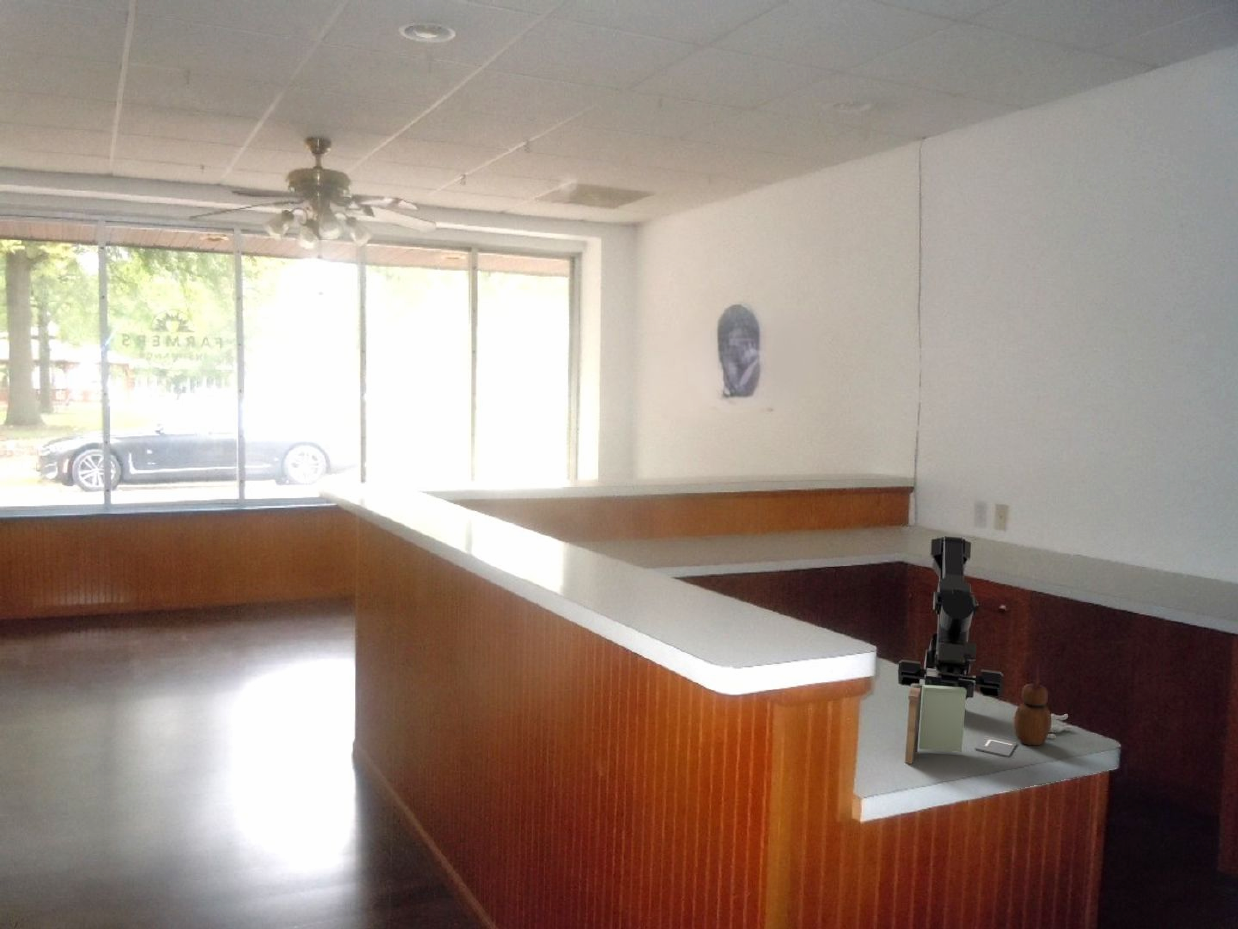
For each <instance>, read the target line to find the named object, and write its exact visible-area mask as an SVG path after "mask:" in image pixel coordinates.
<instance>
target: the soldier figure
mask: <svg viewBox="0 0 1238 929" xmlns="http://www.w3.org/2000/svg"><path fill="white" fill-rule="evenodd" d="M1050 714H1051V722H1052V721H1056V720H1059V721H1064V720H1067V719H1068V717H1069V715H1068V713H1065V714H1063V715H1058V714H1057V715H1056V714H1055V713H1050ZM1014 718H1015V716H1013V719H1014ZM1070 726H1071V725H1068V726H1060V725H1058V724H1051V728H1050V731H1049V733H1048V736H1047V738H1046V739H1050V740H1051V739H1052V740H1053V739H1056V737H1057V736H1056V734H1053V732H1059V733H1060V732H1062V731H1066V732H1068V731H1073V728H1074V727H1073V726H1072V727H1070Z"/></svg>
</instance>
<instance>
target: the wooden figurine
mask: <svg viewBox="0 0 1238 929" xmlns="http://www.w3.org/2000/svg"><path fill="white" fill-rule="evenodd" d="M1039 664H1040V663H1037V665H1036V666H1037V667H1036V670H1035V671H1036V672H1035V676H1034V682H1033V683H1027V684H1025V685H1024V686H1023V688H1022V691H1021V700H1022V702H1023V703H1020V705H1019V706H1018V707H1017V709H1016V711H1015V715H1014V717H1015V718H1014V717H1013V720H1014V722H1013V724H1014V730H1015V731H1014V732H1015V734H1016V738H1017V739H1018V740H1019V741H1020V742H1021V743H1023V744H1024V745H1029V746H1039V745H1042V744H1043V743H1045V741H1046V739H1048V738H1047V736H1048V734H1050V732H1049V731H1050V728H1051V725H1052V721H1051V714H1052V713H1051V711H1050V709H1049V708H1048V707H1047V706H1046V704H1047V703H1048V699H1049V692H1048V689H1047V688H1046V687H1045V686H1043V685H1041V684H1040V683H1039V681H1040V677H1039V676H1040V665H1039Z"/></svg>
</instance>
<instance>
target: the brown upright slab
mask: <svg viewBox="0 0 1238 929" xmlns="http://www.w3.org/2000/svg"><path fill="white" fill-rule="evenodd" d="M922 688H923V684H921V683H920V684H916V683H913V684H911V686H910V691H909V693H908V700H909V702H908V703H909V704H908V716H907V717H908V718H907V731H906V744H905V758H904V759H905V760H904V763H905V764H911V765H912V764H913V762H914V758H915V754H917V753H918V749H919V747H918V746H919V733H920V719H921V705H922V692H923V689H922Z"/></svg>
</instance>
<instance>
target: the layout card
mask: <svg viewBox="0 0 1238 929" xmlns="http://www.w3.org/2000/svg"><path fill="white" fill-rule="evenodd" d="M1016 744H1018V742H1016V741H1011V740H1005V739H1002V738H997V737H993V736H988V735H983V737H982V738H981V739H980V741H979V742H978V744H977V745H976V747H974V750H975V749H976V751H979V752H983V751H984V752H983V753H988V754H993V755H997V754H999V755H998V756H1001V755H1003V756H1002V757H1005V756H1006V757H1007V758H1010V756H1011V755H1012V753H1013V751H1014V750H1015V748H1016V746H1017V745H1016ZM1013 749H1014V750H1013ZM1010 754H1011V755H1010ZM1006 757H1005V758H1006Z"/></svg>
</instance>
